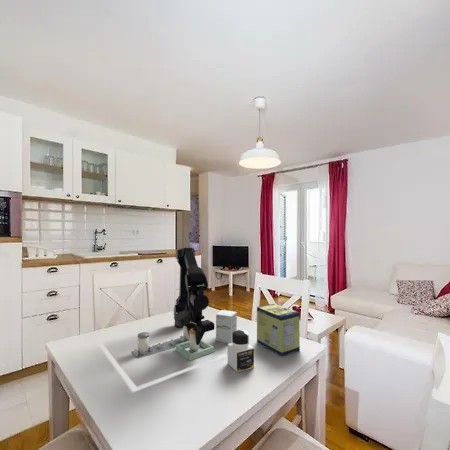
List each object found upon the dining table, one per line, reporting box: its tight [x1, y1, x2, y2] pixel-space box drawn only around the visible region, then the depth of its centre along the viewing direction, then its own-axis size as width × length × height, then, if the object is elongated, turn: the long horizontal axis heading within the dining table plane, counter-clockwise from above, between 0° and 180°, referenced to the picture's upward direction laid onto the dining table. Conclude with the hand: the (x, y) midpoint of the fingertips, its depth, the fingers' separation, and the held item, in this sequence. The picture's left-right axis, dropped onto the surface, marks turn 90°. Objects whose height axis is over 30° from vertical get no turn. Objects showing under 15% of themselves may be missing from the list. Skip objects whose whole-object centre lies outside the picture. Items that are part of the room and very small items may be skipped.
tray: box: [175, 339, 215, 361], centre depth 102 cm, size 11×11×3 cm
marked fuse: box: [188, 328, 201, 351], centre depth 102 cm, size 4×4×7 cm
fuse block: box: [131, 326, 190, 359], centre depth 106 cm, size 27×7×8 cm, turn 129°
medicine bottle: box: [227, 329, 255, 373], centre depth 93 cm, size 7×7×12 cm
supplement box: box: [215, 309, 238, 346], centre depth 114 cm, size 7×7×13 cm
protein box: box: [256, 303, 301, 357], centre depth 109 cm, size 10×16×16 cm
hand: (194, 342), depth 102 cm, fingers closed on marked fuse, 4 cm apart
